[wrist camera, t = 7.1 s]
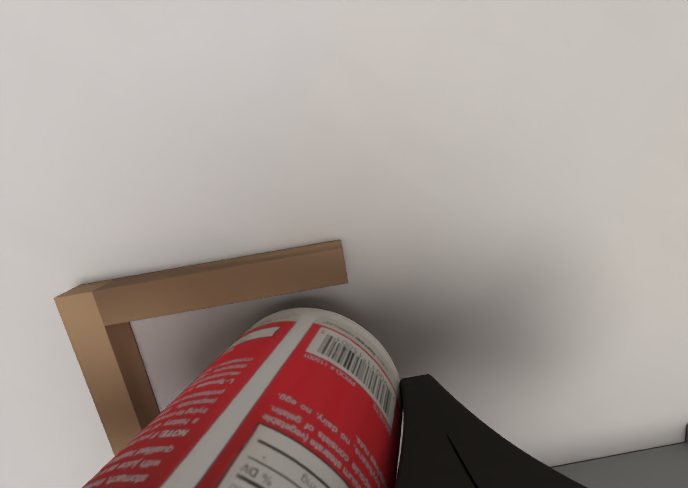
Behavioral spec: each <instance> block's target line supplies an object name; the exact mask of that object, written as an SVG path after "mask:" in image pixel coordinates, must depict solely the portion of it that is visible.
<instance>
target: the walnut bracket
mask: <svg viewBox="0 0 688 488" xmlns="http://www.w3.org/2000/svg"><path fill="white" fill-rule="evenodd" d="M346 283H348V279H347V273H346V267H345V261H344V255H343V250H342V245H341V240H337V241H331V242H325V243H319V244H314V245H308V246H302V247H296V248H291V249H285V250H279V251H273V252H268V253H262V254H256V255H250V256H245V257H239V258H233V259H227V260H222V261H216V262H210V263H204V264H199V265H193V266H187V267H181V268H175V269H170V270H164V271H158V272H152V273H147V274H141V275H135V276H129V277H124V278H118V279H112V280H106V281H101V282H95V283H89V284H83V285H79V286H77V287H75V288H73V289H71V290H69V291H67V292H65V293H63V294H61V295H59V296H57V297H55V298H54V300H55V303H56V305H57V308H58V311H59V313H60V316H61V318H62V321H63V324H64V326H65V329H66V331H67V334H68V336H69V339H70V342H71V344H72V347H73V349H74V352H75V354H76V357H77V360H78V362H79V365H80V367H81V370H82V372H83V375H84V378H85V380H86V383H87V385H88V388H89V391H90V393H91V396H92V398H93V401H94V403H95V406H96V409H97V411H98V414H99V416H100V419H101V421H102V424H103V427H104V429H105V432H106V434H107V437H108V440H109V442H110V445H111V447H112V450H113V452H114V455H115V456H116V455H117V454H118V453H119V452H120V451H121V450H122V449H123V448H124V447H126V446H127V445H128V444H129V443H130V442H131V441H132V440H133V439H134V438H135V437H136V436H137V435H138V434H139V433H140V432H141V431H142V430H143V429H144V428H145V427H146V426H147V425H149V424H150V423H151V422H152V421H153V420H154V419H155V418H156V417H157V416H158V415H159V414H160V413H159V410H158V407H157V404H156V401H155V398H154V395H153V392H152V389H151V386H150V383H149V380H148V377H147V374H146V371H145V368H144V365H143V363H142V360H141V357H140V354H139V351H138V348H137V345H136V342H135V339H134V336H133V333H132V330H131V327H130V324H129V322H130V321H135V320H141V319H147V318H152V317H158V316H164V315H169V314H175V313H181V312H186V311H192V310H198V309H204V308H209V307H215V306H221V305H226V304H232V303H238V302H243V301H249V300H255V299H260V298H266V297H272V296H277V295H283V294H289V293H294V292H300V291H306V290H311V289H317V288H323V287H329V286H334V285H340V284H346Z"/></svg>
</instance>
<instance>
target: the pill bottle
mask: <svg viewBox="0 0 688 488" xmlns="http://www.w3.org/2000/svg"><path fill="white" fill-rule="evenodd" d="M399 382H400V378H399V375H398V372H397V370H396V367H395V365H394V363H393V361H392V359H391V358H390V356H389V354H388V352H387V351H386V350H385V348H384V347H383V346H382V345H381V343H380V342H379V341H378V340H377V339H376V338H375V337H374V336H373V335H372V334H371V333H369V332H368V331H367V330H366V329H364V328H363V327H362V326H360V325H359V324H357V323H356V322H354V321H352V320H350V319H349V318H347V317H345V316H342V315H340V314H337V313H334V312H331V311H327V310H322V309H317V308H306V307H303V308H291V309H286V310H282V311H278V312H276V313H273V314H271V315H268V316H266V317H265V318H263V319H261V320H260V321H258V322H257V323H256V324H254V325H253V326H252V327H251V328H250V329H248V330H247V331H246V332H245V333H244V334H243V335H242V336H241V337H240V338H239V339H238V340H236V341H235V342H234V343H233V344H232V345H231V346H230V347H229V348H228V349H227V350H226V351H225V352H224V353H223V354H222V355H221V356H220V357H219V358H218V359H217V360H216V361H215V362H214V363H213V364H211V365H210V366H209V367H208V368H207V369H206V370H205V371H204V372H203V373H202V374H201V375H200V376H199V377H198V378H197V379H196V380H195V381H194V382H193V383H192V384H191V385H190V386H188V387H187V388H186V389H185V390H184V391H183V392H182V393H181V394H180V395H179V396H178V397H177V398H176V399H175V400H174V401H173V402H172V403H171V404H170V405H169V406H167V407H166V408H165V409H164V410H163V411H162V412H161V413H160V414H159V415H158V416H157V417H156V418H155V419H154V420H153V421H152V422H151V423H150V424H149V425H147V426H146V427H145V428H144V429H143V430H142V431H141V432H140V433H139V434H138V435H137V436H136V437H135V438H134V439H133V440H132V441H131V442H130V443H129V444H128V445H127V446H126V447H124V448H123V449H122V450H121V451H120V452H119V453H118V454H117V455H116V456H115V457H114V458H113V459H112V460H111V461H110V462H109V463H107V464H106V465H105V466H104V467H103V468H102V469H101V470H100V471H99V472H98V473H97V474H96V475H95V476H94V477H93V478H92V479H91V480H90V481H89V482H88V483H87V484H86V485H84V486H83V487H82V488H394V487H395V482H396V475H397V465H398V456H399V448H400V437H401V425H402V412H403V403H402V396H401V389H400V384H399Z"/></svg>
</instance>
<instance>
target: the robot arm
mask: <svg viewBox="0 0 688 488" xmlns="http://www.w3.org/2000/svg"><path fill="white" fill-rule="evenodd" d="M399 384H400V389H401V396H402V403H403V412H404V424H403V437H402V447H401V455H400V461H399V467H398V472H397V478H396V482H395V487H394V488H588V487H586V486H584V485H582V484H580V483H578V482H576V481H574V480H572V479H570V478H568V477H567V476H565V475H563V474H561V473H559V472H557V471H556V470H554V469H552V468H550V467H548V466H547V465H545V464H543V463H542V462H540V461H538V460H536V459H535V458H533V457H532V456H530V455H528V454H527V453H525V452H524V451H522V450H521V449H519V448H518V447H516V446H515V445H513V444H512V443H510V442H509V441H507V440H506V439H505V438H503V437H502V436H500V435H499V434H498V433H496V432H495V431H494V430H493V429H491V428H490V427H489V426H487V425H486V424H485V423H483V422H482V421H481V420H480V419H478V418H477V417H476V416H475V415H474V414H472V413H471V412H470V411H469V410H468V409H467V408H465V407H464V406H463V405H462V404H461V403H460V402H458V401H457V400H456V399H455V398H454V397H453V396H452V395H451V394H450V393H449V392H448V391H447V390H445V389H444V388H443V387H442V386H441V385H440V384H439V383H438V382H437V381H436V380H435V379H434V378H433V377H432V376H431V375H430V374H426V375H420V376H414V377H409V378H403V379H402V380H401V381H400V382H399Z"/></svg>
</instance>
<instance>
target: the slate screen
mask: <svg viewBox="0 0 688 488" xmlns="http://www.w3.org/2000/svg"><path fill="white" fill-rule="evenodd" d="M552 469H554V470H556V471H557V472H559V473H561V474H563V475H565V476H567V477H568V478H570V479H572V480H574V481H576V482H578V483H580V484H582V485H584V486H586V487H588V488H688V425H687V437H686V443H681V444H675V445H670V446H665V447H659V448H654V449H649V450H643V451H638V452H633V453H627V454H622V455H617V456H611V457H606V458H601V459H595V460H590V461H585V462H579V463H574V464H569V465H563V466H558V467H553V468H552Z"/></svg>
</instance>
